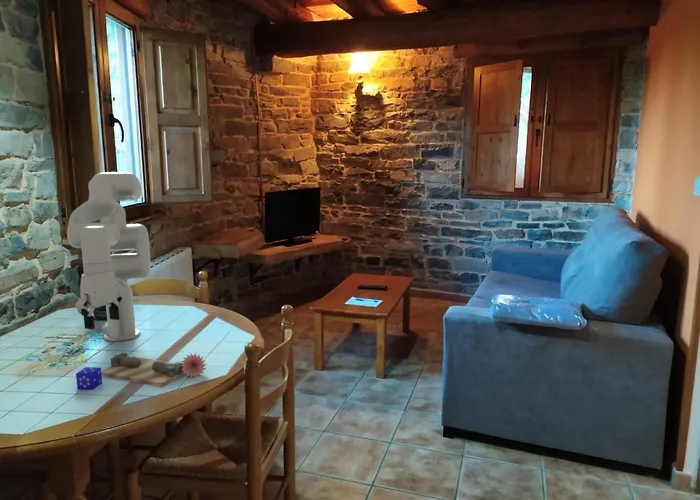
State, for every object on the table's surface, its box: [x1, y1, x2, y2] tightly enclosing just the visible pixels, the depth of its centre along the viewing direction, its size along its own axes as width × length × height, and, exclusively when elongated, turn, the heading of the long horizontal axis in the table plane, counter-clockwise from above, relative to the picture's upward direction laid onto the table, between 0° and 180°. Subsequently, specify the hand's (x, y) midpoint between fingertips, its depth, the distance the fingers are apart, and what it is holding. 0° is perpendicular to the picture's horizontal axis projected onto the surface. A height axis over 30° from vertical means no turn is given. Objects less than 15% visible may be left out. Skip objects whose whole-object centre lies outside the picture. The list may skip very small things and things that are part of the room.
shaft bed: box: [101, 352, 185, 388], centre depth 170 cm, size 25×14×4 cm, turn 69°
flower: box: [181, 352, 207, 378], centre depth 168 cm, size 8×8×6 cm
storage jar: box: [92, 305, 107, 322], centre depth 226 cm, size 10×10×15 cm
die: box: [75, 366, 103, 391], centre depth 160 cm, size 5×5×5 cm
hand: (102, 323), depth 160 cm, fingers open, 9 cm apart
